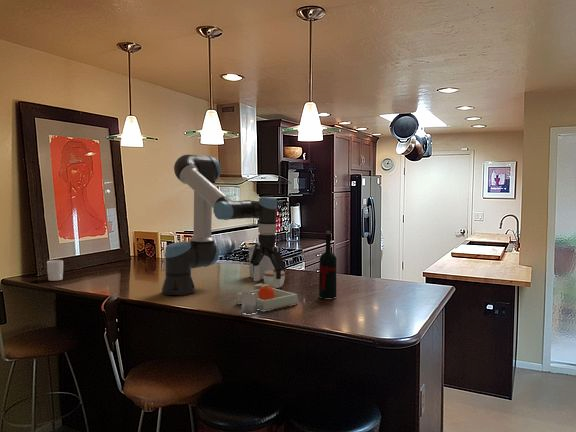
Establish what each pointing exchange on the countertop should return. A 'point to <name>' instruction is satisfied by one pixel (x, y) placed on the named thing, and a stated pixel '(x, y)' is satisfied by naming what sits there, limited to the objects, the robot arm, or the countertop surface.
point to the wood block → (259, 286)
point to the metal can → (249, 302)
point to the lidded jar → (270, 278)
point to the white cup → (55, 270)
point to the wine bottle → (327, 271)
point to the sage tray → (279, 299)
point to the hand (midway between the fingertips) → (266, 283)
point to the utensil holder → (264, 263)
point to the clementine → (266, 293)
